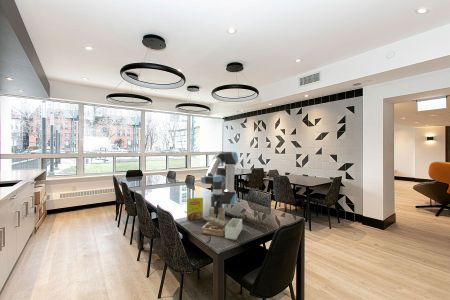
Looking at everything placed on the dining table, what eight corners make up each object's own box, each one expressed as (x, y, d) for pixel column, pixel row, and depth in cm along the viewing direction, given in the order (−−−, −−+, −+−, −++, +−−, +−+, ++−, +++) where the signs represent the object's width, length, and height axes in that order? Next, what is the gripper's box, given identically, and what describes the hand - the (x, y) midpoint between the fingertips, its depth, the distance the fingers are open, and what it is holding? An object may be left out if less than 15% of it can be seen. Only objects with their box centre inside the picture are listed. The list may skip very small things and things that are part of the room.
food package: (187, 219, 203) (187, 198, 203) (186, 219, 204) (187, 198, 204) (202, 218, 207) (203, 197, 207) (202, 217, 208) (202, 197, 208)
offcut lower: (210, 230, 179) (210, 227, 179) (221, 231, 177) (221, 228, 177) (208, 232, 174) (208, 229, 174) (219, 233, 172) (219, 230, 172)
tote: (232, 228, 183) (232, 218, 182) (242, 229, 180) (242, 219, 180) (224, 238, 163) (225, 226, 163) (235, 239, 160) (235, 228, 160)
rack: (208, 226, 187) (208, 221, 187) (228, 228, 181) (229, 224, 181) (201, 233, 172) (201, 228, 172) (223, 236, 166) (223, 231, 166)
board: (211, 227, 184) (211, 206, 184) (224, 229, 180) (224, 208, 180) (210, 228, 182) (210, 207, 182) (223, 230, 178) (223, 208, 178)
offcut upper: (211, 228, 178) (211, 225, 178) (218, 228, 177) (218, 226, 177) (211, 229, 174) (211, 227, 174) (218, 230, 174) (218, 227, 174)
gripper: (216, 191, 189) (216, 217, 189) (210, 195, 175) (210, 223, 175) (224, 192, 187) (224, 218, 187) (218, 196, 172) (218, 224, 173)
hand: (217, 221), depth 181 cm, fingers closed on board, 2 cm apart
